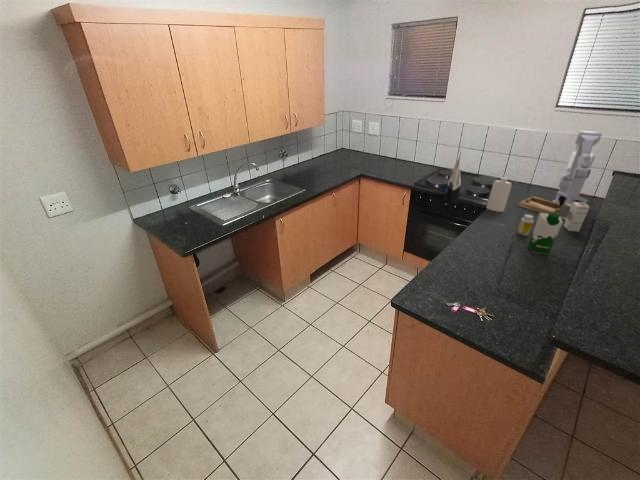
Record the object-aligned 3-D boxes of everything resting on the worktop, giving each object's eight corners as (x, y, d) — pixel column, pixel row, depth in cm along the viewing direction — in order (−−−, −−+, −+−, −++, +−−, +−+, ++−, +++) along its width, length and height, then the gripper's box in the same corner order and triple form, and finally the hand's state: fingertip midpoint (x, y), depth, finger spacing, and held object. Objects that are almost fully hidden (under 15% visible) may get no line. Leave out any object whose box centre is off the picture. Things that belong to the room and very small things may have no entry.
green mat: (561, 211, 191) (562, 210, 191) (575, 215, 186) (575, 214, 186) (552, 216, 185) (552, 215, 185) (565, 220, 180) (565, 219, 180)
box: (562, 212, 188) (566, 202, 185) (570, 214, 185) (574, 205, 182) (557, 215, 185) (561, 205, 182) (564, 217, 182) (569, 207, 179)
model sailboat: (459, 192, 218) (469, 148, 203) (457, 205, 199) (468, 158, 184) (444, 190, 222) (453, 147, 206) (441, 203, 202) (451, 156, 187)
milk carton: (529, 253, 151) (544, 215, 141) (525, 244, 159) (539, 207, 148) (550, 256, 149) (567, 218, 139) (545, 247, 156) (561, 210, 146)
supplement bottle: (531, 234, 167) (537, 217, 162) (523, 236, 165) (529, 219, 160) (522, 230, 171) (528, 212, 166) (514, 231, 170) (520, 214, 164)
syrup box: (579, 231, 169) (590, 206, 162) (566, 230, 170) (577, 206, 163) (574, 226, 174) (585, 202, 166) (562, 225, 175) (572, 201, 167)
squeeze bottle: (486, 206, 198) (485, 209, 194) (495, 175, 188) (494, 178, 184) (504, 209, 193) (503, 212, 190) (513, 178, 183) (513, 180, 180)
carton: (532, 200, 205) (533, 195, 204) (562, 209, 192) (564, 205, 191) (518, 206, 197) (519, 202, 196) (549, 216, 184) (551, 212, 183)
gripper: (557, 186, 180) (548, 208, 187) (587, 194, 170) (576, 216, 177) (563, 183, 184) (554, 205, 191) (592, 191, 173) (582, 213, 180)
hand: (565, 210), depth 184 cm, fingers open, 5 cm apart
